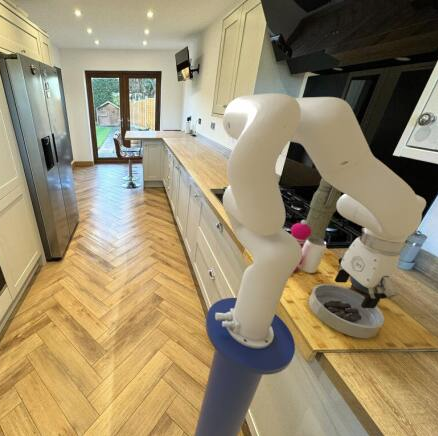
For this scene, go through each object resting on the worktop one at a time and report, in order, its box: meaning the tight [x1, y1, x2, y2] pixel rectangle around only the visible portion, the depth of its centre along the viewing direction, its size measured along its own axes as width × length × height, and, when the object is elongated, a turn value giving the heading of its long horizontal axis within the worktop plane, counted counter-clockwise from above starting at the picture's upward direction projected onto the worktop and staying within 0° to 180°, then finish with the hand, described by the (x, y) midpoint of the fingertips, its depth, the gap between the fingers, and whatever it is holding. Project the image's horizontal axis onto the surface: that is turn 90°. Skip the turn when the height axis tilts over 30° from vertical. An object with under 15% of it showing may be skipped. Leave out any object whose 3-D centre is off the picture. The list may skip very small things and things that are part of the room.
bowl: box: [307, 283, 385, 339], centre depth 68 cm, size 16×16×4 cm
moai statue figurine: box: [302, 177, 342, 248], centre depth 96 cm, size 9×12×35 cm
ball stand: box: [348, 275, 386, 297], centre depth 74 cm, size 9×9×12 cm
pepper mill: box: [290, 219, 311, 274], centre depth 84 cm, size 7×7×20 cm
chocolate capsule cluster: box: [324, 301, 362, 322], centre depth 68 cm, size 9×7×2 cm
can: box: [298, 237, 327, 274], centre depth 86 cm, size 6×6×12 cm
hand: (352, 293), depth 65 cm, fingers open, 9 cm apart
